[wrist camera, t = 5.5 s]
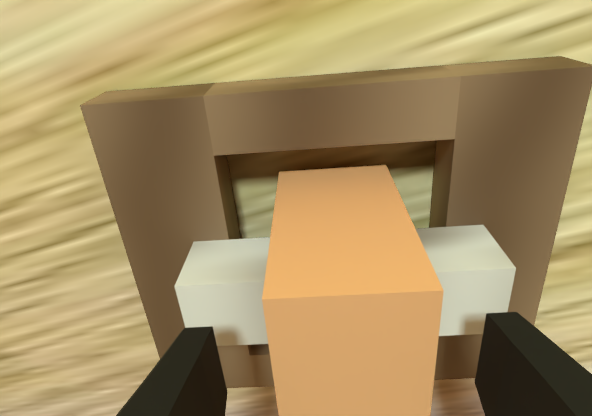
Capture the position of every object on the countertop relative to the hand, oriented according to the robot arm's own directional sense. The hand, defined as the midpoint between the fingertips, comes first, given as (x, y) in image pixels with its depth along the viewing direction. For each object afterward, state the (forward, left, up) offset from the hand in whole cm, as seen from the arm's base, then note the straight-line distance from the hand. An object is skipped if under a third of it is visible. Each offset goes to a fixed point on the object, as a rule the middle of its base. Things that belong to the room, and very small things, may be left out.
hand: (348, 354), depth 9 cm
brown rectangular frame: (0, 0, -5) cm, 5 cm away
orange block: (0, 0, -4) cm, 4 cm away
